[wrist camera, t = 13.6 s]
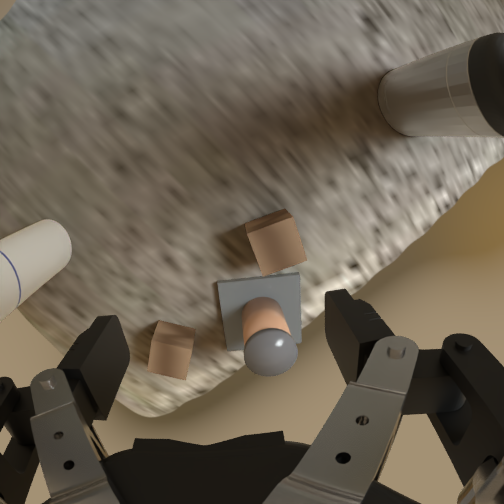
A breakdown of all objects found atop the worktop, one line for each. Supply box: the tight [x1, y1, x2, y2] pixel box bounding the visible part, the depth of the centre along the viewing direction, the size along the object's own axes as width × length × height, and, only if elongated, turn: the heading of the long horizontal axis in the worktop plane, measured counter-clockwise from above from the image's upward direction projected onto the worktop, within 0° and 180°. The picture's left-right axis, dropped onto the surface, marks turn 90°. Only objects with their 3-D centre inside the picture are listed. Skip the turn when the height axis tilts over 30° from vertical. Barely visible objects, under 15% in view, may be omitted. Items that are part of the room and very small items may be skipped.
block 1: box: [147, 320, 196, 380], centre depth 39 cm, size 5×5×5 cm
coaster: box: [217, 272, 301, 351], centre depth 41 cm, size 10×10×1 cm
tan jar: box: [241, 297, 298, 376], centre depth 36 cm, size 6×6×9 cm
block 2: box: [245, 209, 307, 277], centre depth 36 cm, size 5×5×5 cm
